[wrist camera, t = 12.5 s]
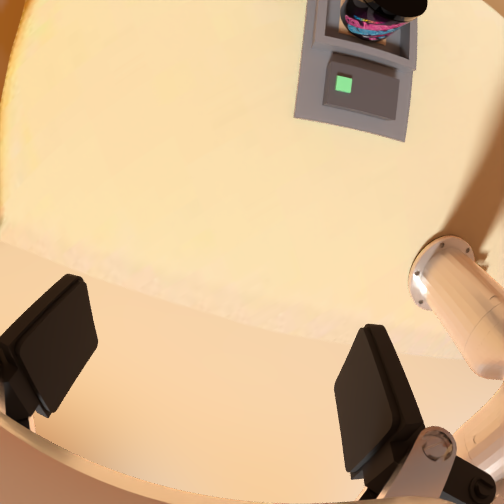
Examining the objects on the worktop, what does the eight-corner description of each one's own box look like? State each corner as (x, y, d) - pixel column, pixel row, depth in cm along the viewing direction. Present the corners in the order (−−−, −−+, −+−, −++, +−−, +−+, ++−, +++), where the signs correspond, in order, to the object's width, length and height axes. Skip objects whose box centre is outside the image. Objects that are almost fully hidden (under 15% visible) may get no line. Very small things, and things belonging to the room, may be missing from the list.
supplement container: (327, 17, 25) (346, -19, 15) (358, -10, 22) (383, -47, 13) (371, 53, 26) (406, 30, 16) (399, 25, 24) (438, -1, 14)
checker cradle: (410, -1, 22) (424, -12, 18) (401, 141, 31) (417, 144, 27) (309, -30, 22) (313, -46, 18) (293, 117, 31) (296, 115, 27)
